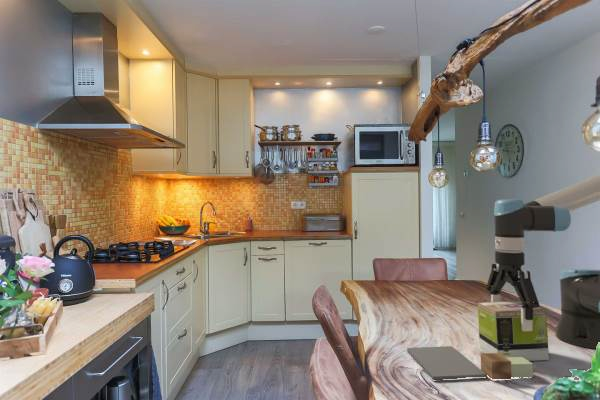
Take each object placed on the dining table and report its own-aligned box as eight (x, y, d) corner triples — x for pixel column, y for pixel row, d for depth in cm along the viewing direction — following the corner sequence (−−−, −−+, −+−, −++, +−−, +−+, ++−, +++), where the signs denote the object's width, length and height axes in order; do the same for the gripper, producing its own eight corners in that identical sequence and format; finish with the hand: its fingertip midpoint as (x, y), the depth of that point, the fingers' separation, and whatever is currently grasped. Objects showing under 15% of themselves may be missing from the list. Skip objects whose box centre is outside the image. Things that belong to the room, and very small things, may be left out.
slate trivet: (451, 350, 107) (451, 346, 107) (486, 378, 89) (486, 374, 89) (407, 351, 106) (407, 348, 106) (433, 381, 88) (433, 376, 88)
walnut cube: (499, 371, 93) (498, 352, 93) (511, 381, 88) (510, 361, 88) (481, 372, 93) (480, 353, 93) (492, 381, 88) (491, 361, 88)
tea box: (525, 347, 108) (524, 299, 109) (549, 361, 98) (548, 309, 98) (478, 348, 108) (477, 300, 108) (497, 363, 98) (496, 310, 98)
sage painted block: (522, 372, 93) (522, 356, 93) (533, 379, 89) (532, 363, 89) (500, 372, 93) (500, 357, 93) (510, 380, 89) (509, 364, 89)
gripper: (473, 246, 116) (474, 310, 115) (527, 257, 91) (528, 338, 91) (495, 246, 116) (496, 309, 116) (554, 256, 91) (556, 338, 91)
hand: (510, 322), depth 103 cm, fingers open, 13 cm apart
